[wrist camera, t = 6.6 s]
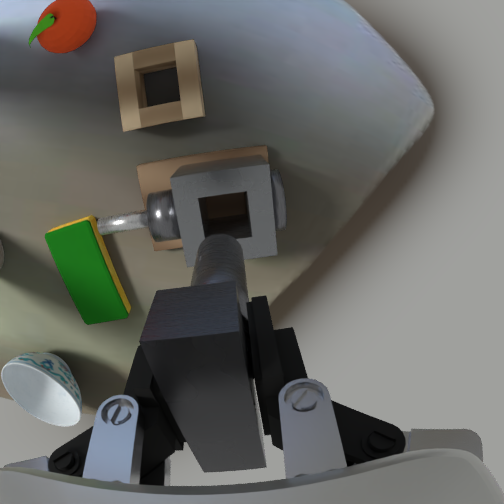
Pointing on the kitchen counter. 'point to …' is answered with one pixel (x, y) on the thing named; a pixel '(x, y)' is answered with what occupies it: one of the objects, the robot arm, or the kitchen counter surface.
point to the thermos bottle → (1, 255)
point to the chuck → (196, 214)
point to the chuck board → (158, 179)
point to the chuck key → (209, 359)
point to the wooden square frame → (152, 60)
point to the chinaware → (44, 387)
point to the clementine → (65, 25)
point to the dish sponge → (88, 271)
